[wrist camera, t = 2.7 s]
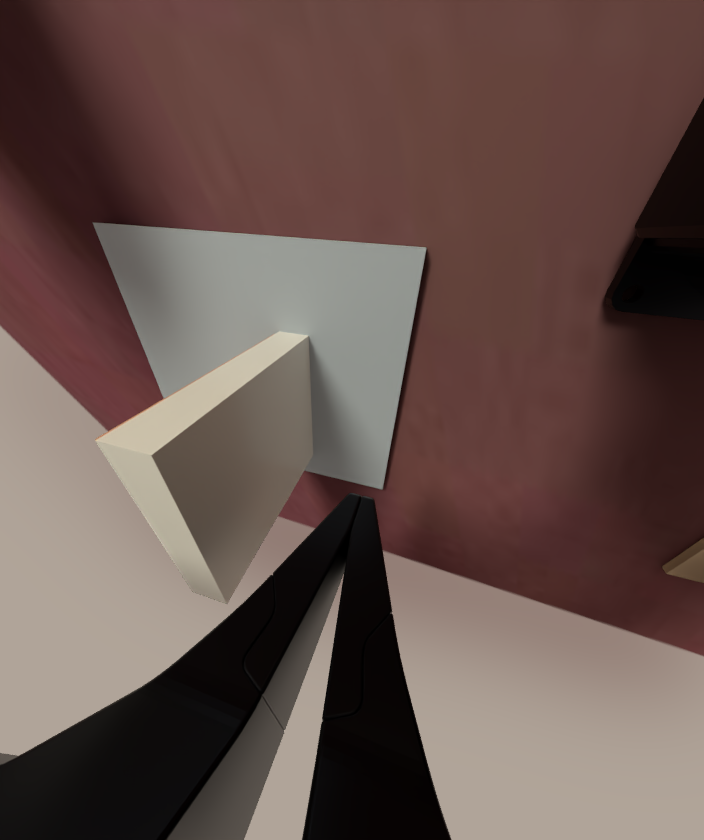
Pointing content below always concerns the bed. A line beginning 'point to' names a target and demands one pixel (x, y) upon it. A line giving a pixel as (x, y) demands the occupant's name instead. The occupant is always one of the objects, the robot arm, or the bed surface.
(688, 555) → the tan slab
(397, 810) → the robot arm
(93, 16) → the bed surface
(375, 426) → the mat
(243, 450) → the tile
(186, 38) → the bed surface
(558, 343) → the bed surface
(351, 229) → the bed surface
